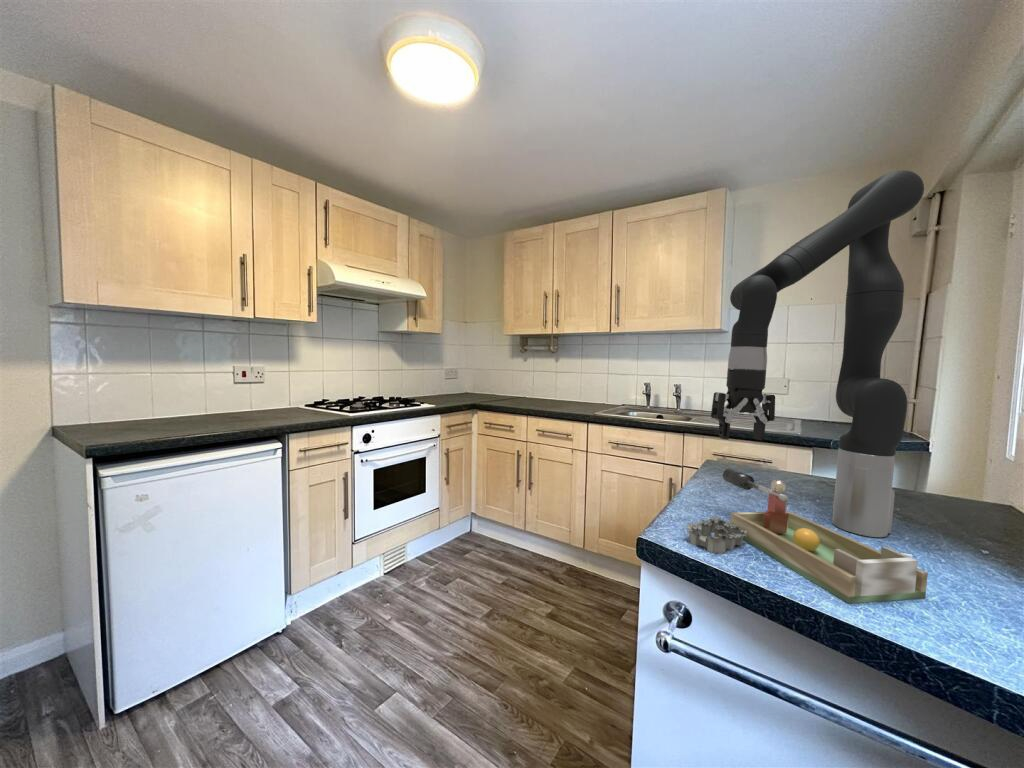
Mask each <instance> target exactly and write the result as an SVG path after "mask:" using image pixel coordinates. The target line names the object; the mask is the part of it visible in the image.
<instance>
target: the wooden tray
mask: <svg viewBox="0 0 1024 768" xmlns="http://www.w3.org/2000/svg"><path fill="white" fill-rule="evenodd" d="M764 512H765V511H750V512H749V511H747V512H746V511H745V512H741V511H740V512H730V517H729V518H730V519H729V523H732V524H733V525H735V526H736V525H738V527H739V529H740V530H742V531H744V530H746V531H747V533H746V536H745V535H744V538H743V542H746V543H748V544H750V545H751V546H752V547H754V548H756V549H757V550H759V551H761V552H763V553H764V554H766V555H768V557H769V556H770V557H771V558H773V559H774V560H775V561H778V562H779V563H781V564H782V565H784V566H785V567H787V568H789V569H791V570H792V571H793V572H795V573H797V574H798V575H800V576H802V577H803V578H805V579H807V580H808V581H810V582H811V583H813V584H815V585H817V586H818V587H820V588H822V589H824V591H826V592H829V594H831V595H833V596H835V597H837V598H838V599H840V600H842V601H843V602H845V603H847V604H859V603H860V604H861V603H874V602H875V603H876V602H888V601H889V602H890V601H901V600H902V601H904V600H917V599H925V598H926V596H927V594H926V593H927V586H928V584H927V583H928V576H929V573H928V572H927V571H925V570H922V569H920V568H918V564H919V563H918V562H919V560H918V559H915V558H912V557H911V556H908V555H906V554H903V553H901V552H898V551H896V550H894V549H892V548H889V547H887V546H881V549H880V550H878V549H875V548H873V547H871V546H869V545H866V544H864V543H862V542H859V541H857V540H855V539H852V538H850V537H848V536H846V535H844V534H841V533H839V532H838V531H835V530H833V529H830V528H827V527H826V526H823V525H821V524H819V523H817V522H814V521H812V520H810V519H808V518H805V517H803V516H801V515H800V514H796V513H795V512H792V511H789V510H785V513H787V514H788V520H787V533H780V534H774V533H773V532H771V531H769V530H767V529H765V528H763V525H764ZM801 528H806V529H810V530H812V531H813V532H815V533H816V534H817V536H818V537H819V540H820V545H819V547H818V548H817V549H816V550H814V551H806V550H805V549H803V548H801V547H799V546H797V545H796V544H795V543H794V541H793V534H794V532H795V531H796V530H798V529H801Z"/></svg>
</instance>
